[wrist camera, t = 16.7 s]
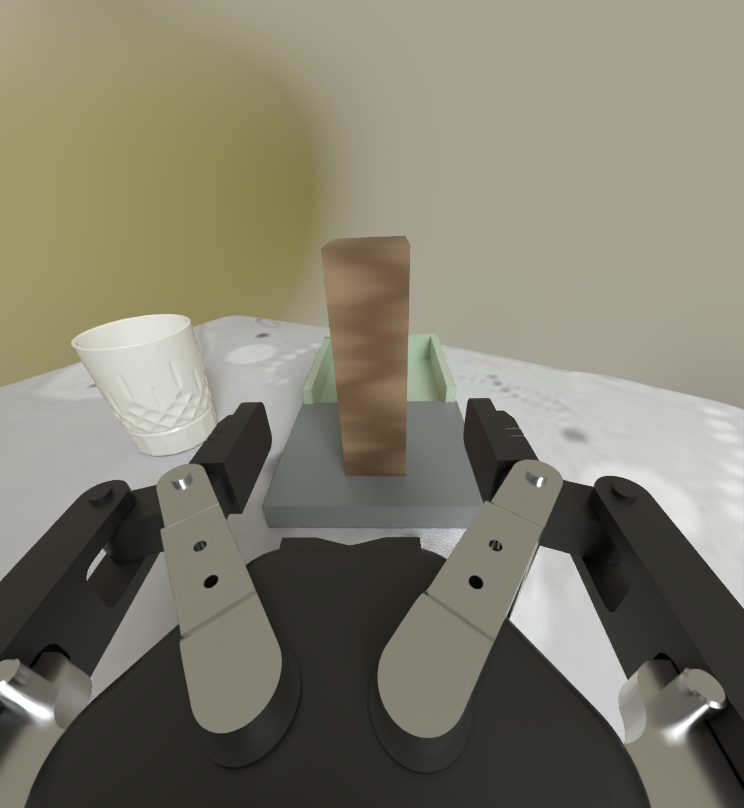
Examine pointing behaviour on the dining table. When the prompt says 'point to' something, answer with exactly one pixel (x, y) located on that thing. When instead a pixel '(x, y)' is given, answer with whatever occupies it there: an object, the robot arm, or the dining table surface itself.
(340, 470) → the plate
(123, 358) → the white cup
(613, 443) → the dining table surface
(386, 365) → the tall wooden post
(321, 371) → the tray
